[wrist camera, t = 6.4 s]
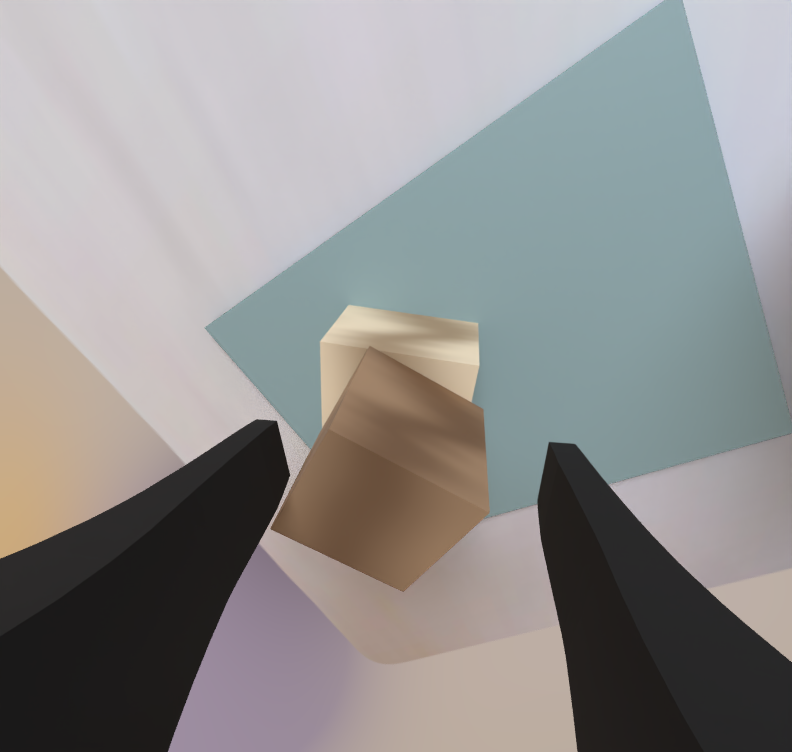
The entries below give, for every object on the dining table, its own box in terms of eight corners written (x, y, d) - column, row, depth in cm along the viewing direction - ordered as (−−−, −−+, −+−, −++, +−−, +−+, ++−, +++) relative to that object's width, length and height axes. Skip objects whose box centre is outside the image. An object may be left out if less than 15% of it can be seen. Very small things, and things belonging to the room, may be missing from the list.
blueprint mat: (673, -6, 12) (679, -11, 11) (788, 427, 18) (794, 432, 18) (208, 324, 21) (204, 327, 20) (394, 538, 27) (393, 543, 26)
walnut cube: (483, 408, 15) (489, 512, 11) (418, 484, 18) (403, 591, 13) (369, 345, 14) (328, 429, 10) (319, 432, 17) (270, 528, 13)
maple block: (478, 323, 18) (479, 365, 14) (456, 427, 21) (453, 483, 17) (348, 304, 18) (320, 341, 15) (346, 409, 21) (322, 459, 18)
